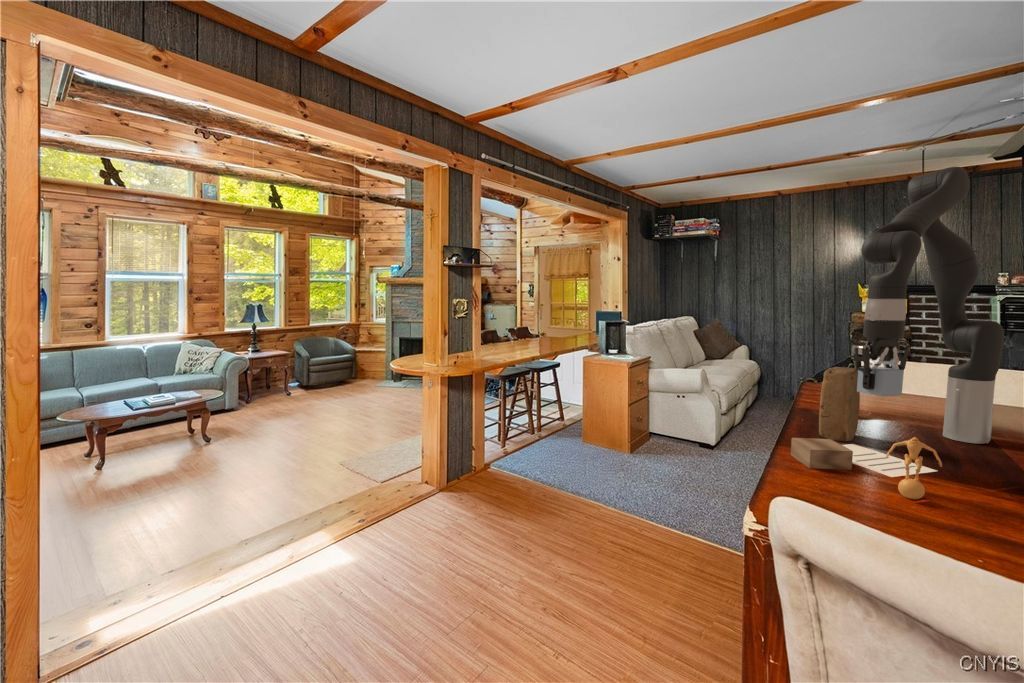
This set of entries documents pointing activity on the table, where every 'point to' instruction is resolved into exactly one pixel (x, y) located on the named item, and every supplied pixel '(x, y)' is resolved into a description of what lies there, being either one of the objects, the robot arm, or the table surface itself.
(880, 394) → the slate cube
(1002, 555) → the table surface
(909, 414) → the table surface
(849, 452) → the walnut block
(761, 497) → the table surface
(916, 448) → the figurine
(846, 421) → the block
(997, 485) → the table surface
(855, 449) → the letter
